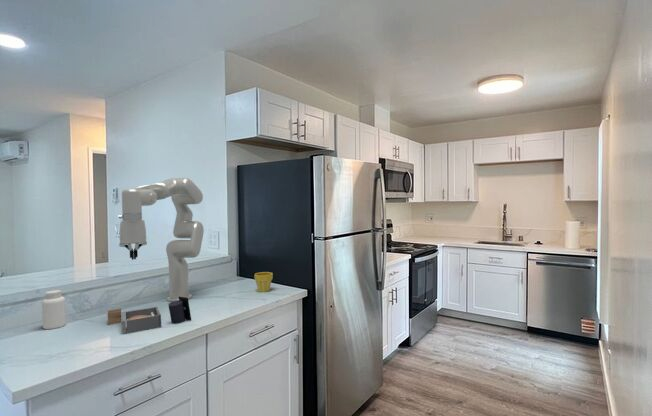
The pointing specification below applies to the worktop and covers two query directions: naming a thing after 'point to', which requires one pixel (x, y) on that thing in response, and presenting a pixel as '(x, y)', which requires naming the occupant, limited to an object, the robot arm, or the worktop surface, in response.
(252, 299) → the worktop surface
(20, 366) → the worktop surface
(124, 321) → the tray
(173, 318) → the speaker
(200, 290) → the worktop surface
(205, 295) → the worktop surface
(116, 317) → the brown wooden cube
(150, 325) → the housing
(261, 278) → the plant pot
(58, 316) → the pill bottle
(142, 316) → the tan domed disc
